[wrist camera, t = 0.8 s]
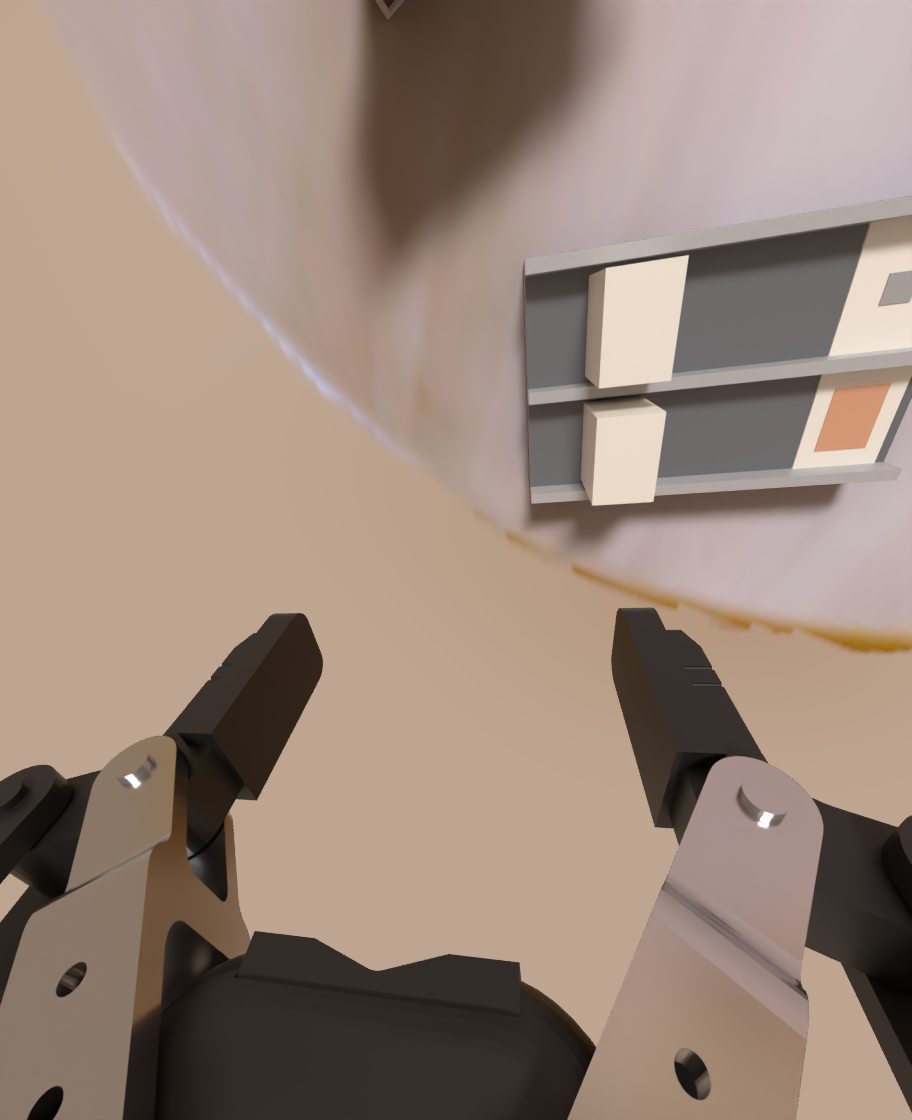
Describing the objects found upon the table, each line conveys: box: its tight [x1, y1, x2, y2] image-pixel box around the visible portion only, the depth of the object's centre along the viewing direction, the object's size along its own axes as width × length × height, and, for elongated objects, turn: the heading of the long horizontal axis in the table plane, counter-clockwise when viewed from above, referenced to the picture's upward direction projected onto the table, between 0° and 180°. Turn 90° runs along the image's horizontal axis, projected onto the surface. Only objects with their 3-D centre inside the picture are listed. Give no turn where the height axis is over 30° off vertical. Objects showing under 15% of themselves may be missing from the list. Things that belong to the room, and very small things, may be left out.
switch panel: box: [523, 196, 912, 504], centre depth 21 cm, size 19×12×3 cm, turn 97°
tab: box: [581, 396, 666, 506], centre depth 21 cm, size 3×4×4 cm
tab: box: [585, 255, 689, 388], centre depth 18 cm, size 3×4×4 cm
